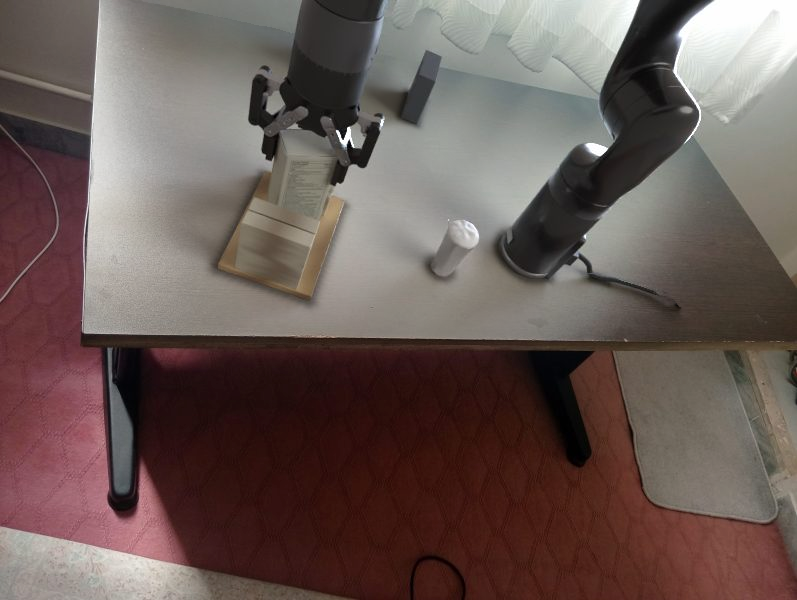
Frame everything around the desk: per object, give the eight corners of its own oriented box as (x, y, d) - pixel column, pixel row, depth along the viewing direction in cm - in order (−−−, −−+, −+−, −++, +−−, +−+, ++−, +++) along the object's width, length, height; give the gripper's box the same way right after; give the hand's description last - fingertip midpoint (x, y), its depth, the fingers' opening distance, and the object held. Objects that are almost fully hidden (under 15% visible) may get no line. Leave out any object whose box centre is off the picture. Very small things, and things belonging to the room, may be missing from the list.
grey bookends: (423, 98, 100) (442, 56, 93) (416, 124, 96) (435, 81, 89) (326, 57, 97) (338, 10, 90) (314, 81, 93) (325, 34, 85)
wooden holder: (343, 205, 80) (361, 155, 72) (309, 300, 69) (326, 254, 61) (264, 175, 78) (274, 120, 70) (217, 268, 67) (222, 217, 59)
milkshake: (421, 251, 80) (448, 206, 72) (454, 259, 81) (484, 216, 73) (421, 275, 77) (448, 232, 69) (455, 283, 79) (486, 242, 71)
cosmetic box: (311, 199, 72) (332, 128, 62) (319, 225, 70) (341, 156, 61) (263, 199, 69) (278, 126, 60) (270, 226, 67) (286, 155, 58)
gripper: (247, 31, 47) (232, 166, 60) (399, 95, 49) (353, 212, 62) (274, -7, 52) (254, 126, 65) (412, 53, 54) (366, 171, 67)
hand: (303, 168), depth 63 cm, fingers closed on cosmetic box, 7 cm apart
